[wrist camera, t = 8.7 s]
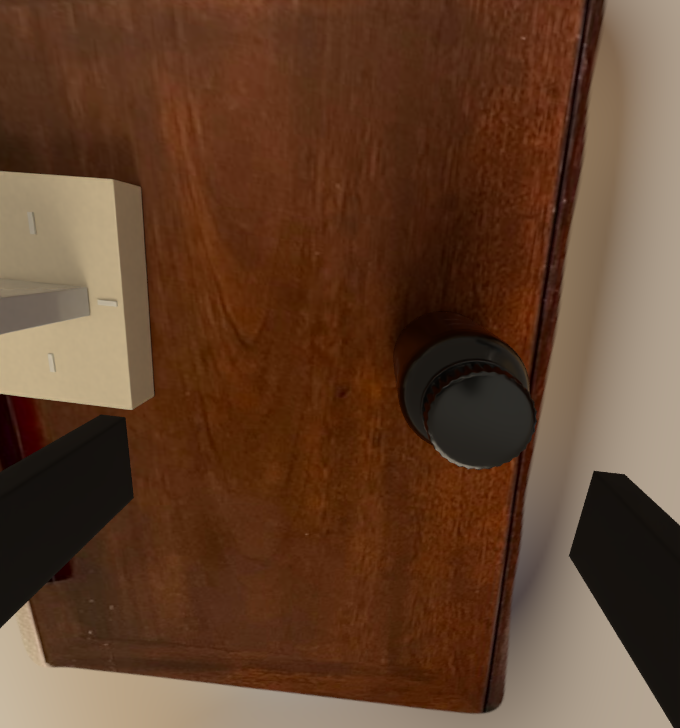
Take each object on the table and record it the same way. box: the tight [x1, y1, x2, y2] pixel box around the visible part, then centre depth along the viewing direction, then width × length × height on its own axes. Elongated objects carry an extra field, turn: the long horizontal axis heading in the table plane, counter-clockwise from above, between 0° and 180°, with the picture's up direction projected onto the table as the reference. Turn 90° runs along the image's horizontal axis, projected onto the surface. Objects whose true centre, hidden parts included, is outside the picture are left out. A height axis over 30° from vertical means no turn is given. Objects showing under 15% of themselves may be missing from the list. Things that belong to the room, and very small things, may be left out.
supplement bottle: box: [393, 311, 537, 470], centre depth 22 cm, size 7×7×12 cm
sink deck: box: [0, 171, 154, 410], centre depth 28 cm, size 16×12×3 cm
